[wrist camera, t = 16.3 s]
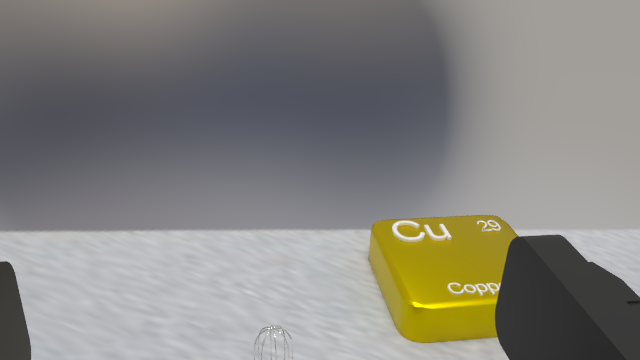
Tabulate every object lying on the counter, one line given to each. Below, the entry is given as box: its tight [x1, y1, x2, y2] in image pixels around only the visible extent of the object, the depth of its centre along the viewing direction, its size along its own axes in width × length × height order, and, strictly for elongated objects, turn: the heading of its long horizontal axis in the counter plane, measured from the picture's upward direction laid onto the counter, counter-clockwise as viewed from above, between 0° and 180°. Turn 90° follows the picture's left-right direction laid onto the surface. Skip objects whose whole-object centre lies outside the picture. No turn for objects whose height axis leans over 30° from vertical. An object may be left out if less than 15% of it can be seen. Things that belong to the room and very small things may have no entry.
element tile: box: [369, 215, 519, 343], centre depth 60 cm, size 15×15×5 cm
